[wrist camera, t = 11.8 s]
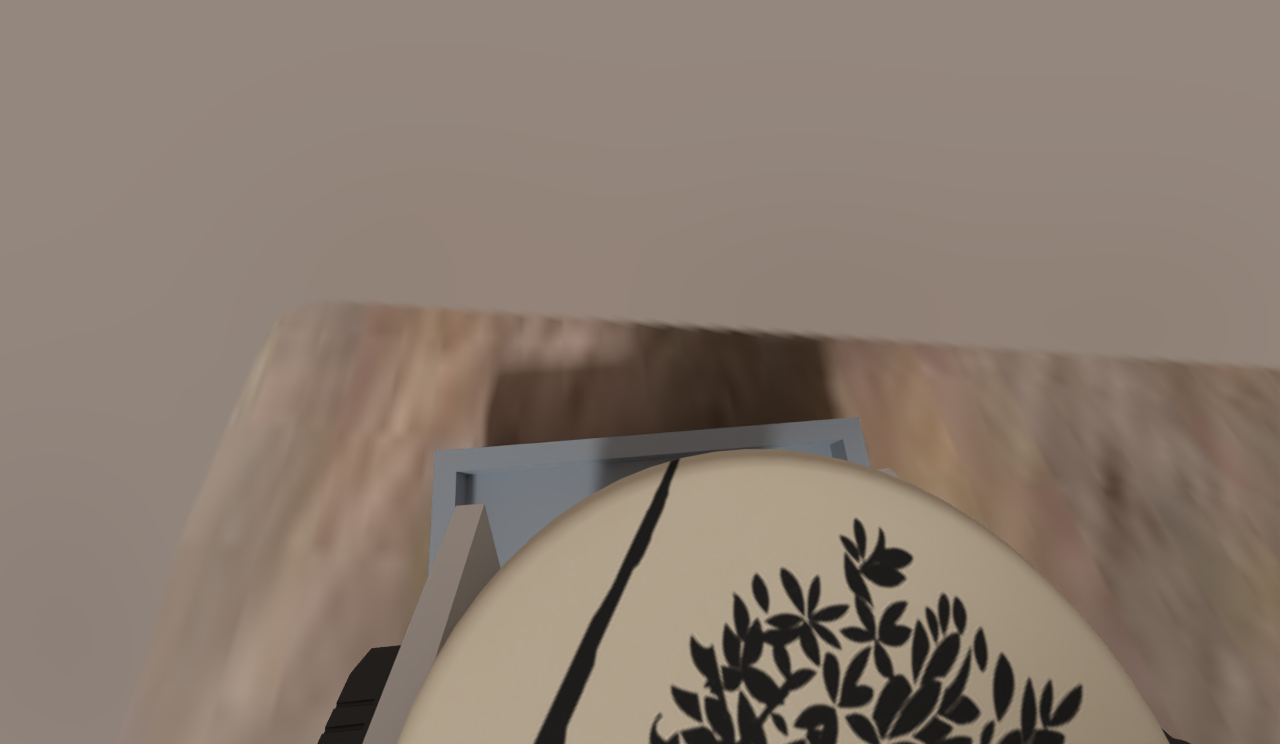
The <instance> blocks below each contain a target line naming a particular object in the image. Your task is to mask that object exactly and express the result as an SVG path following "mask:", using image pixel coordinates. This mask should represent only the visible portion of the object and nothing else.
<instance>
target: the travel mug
mask: <svg viewBox="0 0 1280 744" xmlns="http://www.w3.org/2000/svg"><path fill="white" fill-rule="evenodd" d="M396 744H1170V743H1169V742H1168V740H1167V738H1166V736H1165V734H1164V732H1163V730H1162V729H1161V727H1160V725H1159V723H1158V721H1157V719H1156V718H1155V716H1154V715H1153V713H1152V712H1151V710H1150V708H1149V707H1148V705H1147V704H1146V702H1145V700H1144V699H1143V697H1142V696H1141V694H1140V693H1139V691H1138V689H1137V688H1136V686H1135V685H1134V683H1133V681H1132V680H1131V678H1130V677H1129V675H1128V674H1127V673H1126V671H1125V670H1124V669H1123V667H1122V666H1121V665H1120V663H1119V662H1118V661H1117V659H1116V658H1115V656H1114V655H1113V654H1112V652H1111V651H1110V650H1109V648H1108V647H1107V646H1106V644H1105V643H1104V641H1103V640H1102V639H1101V638H1100V636H1099V635H1098V634H1097V633H1096V632H1095V631H1094V629H1093V628H1092V627H1091V626H1090V625H1089V623H1088V622H1087V621H1086V620H1085V619H1084V618H1083V616H1082V615H1081V614H1080V613H1079V612H1078V611H1077V609H1076V608H1075V607H1074V606H1073V605H1072V604H1071V603H1070V602H1069V601H1068V600H1067V599H1066V598H1065V596H1064V595H1063V594H1062V593H1061V592H1060V591H1059V590H1058V589H1057V588H1056V587H1055V586H1054V585H1053V584H1052V583H1051V582H1050V581H1049V580H1048V579H1047V578H1046V577H1045V576H1044V575H1043V574H1042V573H1041V572H1040V571H1039V570H1037V569H1036V568H1035V567H1034V566H1033V565H1032V564H1031V563H1029V562H1028V561H1027V560H1026V559H1025V558H1024V557H1022V556H1021V555H1020V554H1019V553H1018V552H1017V551H1016V550H1014V549H1013V548H1012V547H1011V546H1010V545H1009V544H1007V543H1006V542H1004V541H1003V540H1002V539H1000V538H999V537H998V536H996V535H995V534H994V533H992V532H991V531H990V530H988V529H987V528H986V527H984V526H983V525H982V524H980V523H979V522H978V521H976V520H974V519H973V518H971V517H970V516H968V515H966V514H965V513H963V512H962V511H960V510H958V509H957V508H955V507H954V506H952V505H950V504H949V503H947V502H946V501H944V500H942V499H940V498H938V497H936V496H934V495H932V494H930V493H928V492H926V491H924V490H922V489H921V488H919V487H917V486H915V485H913V484H911V483H908V482H906V481H903V480H901V479H898V478H896V477H894V476H891V475H889V474H886V473H884V472H881V471H879V470H876V469H872V468H869V467H866V466H863V465H859V464H856V463H853V462H850V461H846V460H842V459H838V458H833V457H828V456H823V455H818V454H813V453H806V452H797V451H788V450H779V449H741V450H730V451H718V452H710V453H705V454H700V455H694V456H689V457H684V458H680V459H676V460H673V461H669V462H666V463H663V464H659V465H656V466H653V467H649V468H647V469H644V470H642V471H640V472H637V473H635V474H632V475H630V476H627V477H625V478H622V479H620V480H618V481H616V482H614V483H612V484H610V485H608V486H607V487H605V488H603V489H601V490H599V491H597V492H595V493H593V494H591V495H589V496H588V497H586V498H585V499H583V500H582V501H580V502H579V503H577V504H576V505H574V506H573V507H571V508H570V509H568V510H567V511H565V512H564V513H562V514H561V515H559V516H558V517H557V518H555V519H554V520H553V521H552V522H550V523H549V524H548V525H547V526H545V527H544V528H543V529H542V530H541V531H539V532H538V533H537V534H536V535H534V536H533V537H532V538H531V539H530V540H529V541H528V542H527V543H526V544H525V545H524V546H523V547H521V548H520V549H519V550H518V551H517V552H516V553H515V554H514V555H513V556H512V557H511V558H510V559H509V560H508V561H507V562H506V563H505V564H504V565H503V566H502V567H501V569H500V570H499V571H498V572H497V573H496V574H495V576H494V577H493V578H492V579H491V580H490V581H489V582H488V584H487V585H486V586H485V587H484V588H483V589H482V591H481V592H480V593H479V594H478V595H477V597H476V598H475V600H474V601H473V602H472V604H471V605H470V607H469V608H468V609H467V611H466V612H465V613H464V615H463V616H462V618H461V619H460V620H459V622H458V623H457V624H456V626H455V627H454V629H453V631H452V632H451V634H450V636H449V637H448V639H447V641H446V642H445V644H444V646H443V647H442V649H441V651H440V652H439V654H438V656H437V657H436V659H435V660H434V662H433V664H432V666H431V668H430V670H429V672H428V674H427V676H426V678H425V680H424V682H423V684H422V686H421V688H420V690H419V692H418V694H417V696H416V698H415V700H414V702H413V704H412V706H411V708H410V711H409V713H408V716H407V718H406V721H405V723H404V726H403V728H402V731H401V733H400V736H399V738H398V741H397V743H396Z"/></svg>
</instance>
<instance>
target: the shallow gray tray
mask: <svg viewBox="0 0 1280 744" xmlns="http://www.w3.org/2000/svg"><path fill="white" fill-rule="evenodd" d="M741 449H779V450H788V451H797V452H806V453H813V454H818V455H823V456H828V457H833V458H838V459H842V460H846V461H850V462H853V463H856V464H859V465H863V466H866V467H869V468H871V467H870V462H869V458H868V454H867V450H866V446H865V442H864V438H863V433H862V429H861V425H860V421H859V417H852V418H840V419H828V420H815V421H803V422H790V423H778V424H766V425H753V426H741V427H729V428H716V429H704V430H691V431H679V432H667V433H654V434H642V435H630V436H617V437H605V438H592V439H580V440H568V441H555V442H543V443H530V444H518V445H506V446H493V447H481V448H469V449H456V450H444V451H435V460H434V479H433V498H432V516H431V535H430V554H429V572H428V576H429V573H430V571H431V568H432V566H433V563H434V561H435V558H436V555H437V553H438V550H439V548H440V545H441V543H442V540H443V538H444V535H445V533H446V530H447V527H448V525H449V522H450V520H451V517H452V515H453V512H454V510H455V507H456V506H460V505H472V504H483V503H484V504H485V508H486V512H487V516H488V520H489V524H490V528H491V532H492V536H493V540H494V544H495V548H496V552H497V556H498V560H499V564H500V568H501V567H502V566H503V565H504V564H505V563H506V562H507V561H508V560H509V559H510V558H511V557H512V556H513V555H514V554H515V553H516V552H517V551H518V550H519V549H520V548H521V547H523V546H524V545H525V544H526V543H527V542H528V541H529V540H530V539H531V538H532V537H533V536H534V535H536V534H537V533H538V532H539V531H541V530H542V529H543V528H544V527H545V526H547V525H548V524H549V523H550V522H552V521H553V520H554V519H555V518H557V517H558V516H559V515H561V514H562V513H564V512H565V511H567V510H568V509H570V508H571V507H573V506H574V505H576V504H577V503H579V502H580V501H582V500H583V499H585V498H586V497H588V496H589V495H591V494H593V493H595V492H597V491H599V490H601V489H603V488H605V487H607V486H608V485H610V484H612V483H614V482H616V481H618V480H620V479H622V478H625V477H627V476H630V475H632V474H635V473H637V472H640V471H642V470H644V469H647V468H649V467H653V466H656V465H659V464H663V463H666V462H669V461H673V460H676V459H680V458H684V457H689V456H694V455H700V454H705V453H710V452H718V451H730V450H741Z"/></svg>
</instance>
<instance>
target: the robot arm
mask: <svg viewBox="0 0 1280 744" xmlns="http://www.w3.org/2000/svg"><path fill="white" fill-rule="evenodd" d="M876 470H879V471H881V472H884V473H886V474H889V475H891V476H894V477H896V478H898V479H900V478H899V477H898V476H897V475H896V474H895V473H894V472H893V471H892V469H891V468H886V469H876ZM500 569H501V568H500V564H499V560H498V556H497V552H496V548H495V544H494V540H493V536H492V532H491V528H490V524H489V520H488V516H487V512H486V508H485V504H484V503H483V504H472V505H460V506H456V507H455V510H454V512H453V515H452V517H451V520H450V522H449V525H448V527H447V530H446V533H445V535H444V538H443V540H442V543H441V545H440V548H439V550H438V553H437V555H436V558H435V561H434V563H433V566H432V568H431V571H430V573H429V576H428V578H427V581H426V583H425V586H424V588H423V591H422V594H421V596H420V599H419V601H418V604H417V606H416V609H415V611H414V614H413V616H412V619H411V622H410V624H409V627H408V629H407V632H406V634H405V637H404V639H403V642H402V644H401V645H399V646H390V647H380V648H371V650H370V651H369V652H368V653H367V654H366V656H365V657H364V658H363V659H362V660H361V662H360V663H359V664H358V665H357V666H356V668H355V669H354V670H353V671H352V672H351V674H350V675H349V677H348V680H347V682H346V684H345V686H344V688H343V690H342V692H341V694H340V697H339V699H338V701H337V706H336V708H335V709H333V712H332V714H331V716H330V718H329V720H328V722H327V724H326V727H325V732H324V734H322V735H321V737H320V739H319V741H318V744H396V743H397V741H398V738H399V736H400V733H401V731H402V728H403V726H404V723H405V721H406V718H407V716H408V713H409V711H410V708H411V706H412V704H413V702H414V700H415V698H416V696H417V694H418V692H419V690H420V688H421V686H422V684H423V682H424V680H425V678H426V676H427V674H428V672H429V670H430V668H431V666H432V664H433V662H434V660H435V659H436V657H437V656H438V654H439V652H440V651H441V649H442V647H443V646H444V644H445V642H446V641H447V639H448V637H449V636H450V634H451V632H452V631H453V629H454V627H455V626H456V624H457V623H458V622H459V620H460V619H461V618H462V616H463V615H464V613H465V612H466V611H467V609H468V608H469V607H470V605H471V604H472V602H473V601H474V600H475V598H476V597H477V595H478V594H479V593H480V592H481V591H482V589H483V588H484V587H485V586H486V585H487V584H488V582H489V581H490V580H491V579H492V578H493V577H494V576H495V574H496V573H497V572H498V571H499V570H500ZM1161 729H1162V728H1161ZM1162 730H1163V729H1162ZM1163 732H1164V734H1165V736H1166V738H1167V740H1168V742H1169V743H1170V744H1190V743H1188V742H1186V741H1183V740H1179V739H1174V738H1172V737H1171V736H1169V735H1168V734H1167V733H1166V732H1165V731H1164V730H1163Z"/></svg>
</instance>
